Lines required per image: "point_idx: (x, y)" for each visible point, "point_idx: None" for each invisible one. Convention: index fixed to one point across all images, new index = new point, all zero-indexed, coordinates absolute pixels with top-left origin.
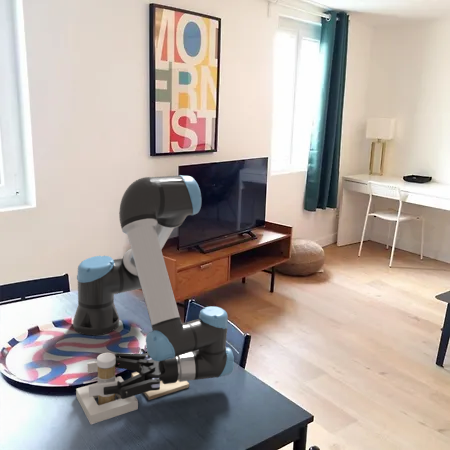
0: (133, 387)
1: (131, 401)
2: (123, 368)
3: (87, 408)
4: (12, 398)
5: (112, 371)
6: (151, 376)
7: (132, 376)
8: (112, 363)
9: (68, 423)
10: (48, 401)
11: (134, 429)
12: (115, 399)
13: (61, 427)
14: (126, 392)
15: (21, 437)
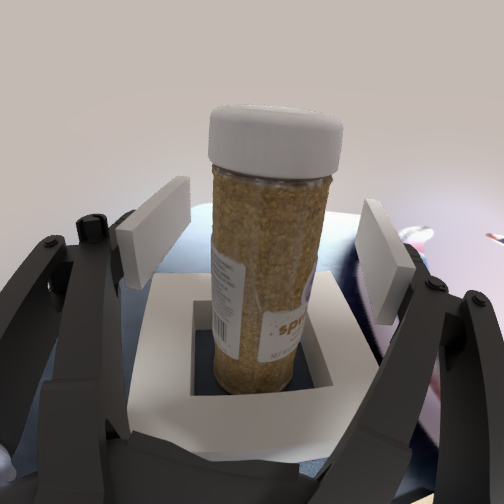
0: (11, 279)
1: (135, 417)
2: (377, 371)
3: (197, 274)
4: (342, 218)
5: (220, 209)
6: (22, 478)
7: (430, 495)
8: (213, 137)
9: (200, 267)
10: (318, 252)
11: (39, 392)
12: (246, 394)
13: (194, 255)
14: (232, 424)
15: (207, 214)
